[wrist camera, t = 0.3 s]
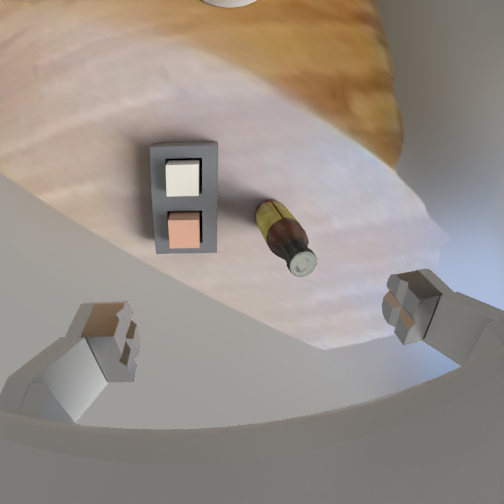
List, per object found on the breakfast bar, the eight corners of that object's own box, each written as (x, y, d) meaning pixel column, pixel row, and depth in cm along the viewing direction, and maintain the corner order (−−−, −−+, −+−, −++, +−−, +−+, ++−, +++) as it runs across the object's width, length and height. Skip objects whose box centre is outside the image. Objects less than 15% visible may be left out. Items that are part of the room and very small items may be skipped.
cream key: (168, 160, 46) (165, 165, 43) (199, 159, 47) (198, 164, 44) (169, 189, 49) (166, 196, 45) (199, 188, 49) (198, 195, 46)
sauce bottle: (255, 230, 59) (276, 288, 41) (253, 199, 56) (275, 248, 38) (288, 227, 59) (321, 282, 42) (287, 196, 56) (324, 242, 39)
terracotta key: (170, 211, 50) (167, 220, 47) (199, 211, 51) (198, 219, 48) (172, 238, 53) (169, 248, 49) (199, 237, 54) (199, 247, 50)
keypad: (154, 143, 48) (149, 147, 44) (217, 141, 50) (218, 145, 46) (159, 241, 57) (156, 253, 53) (215, 240, 59) (216, 252, 54)
